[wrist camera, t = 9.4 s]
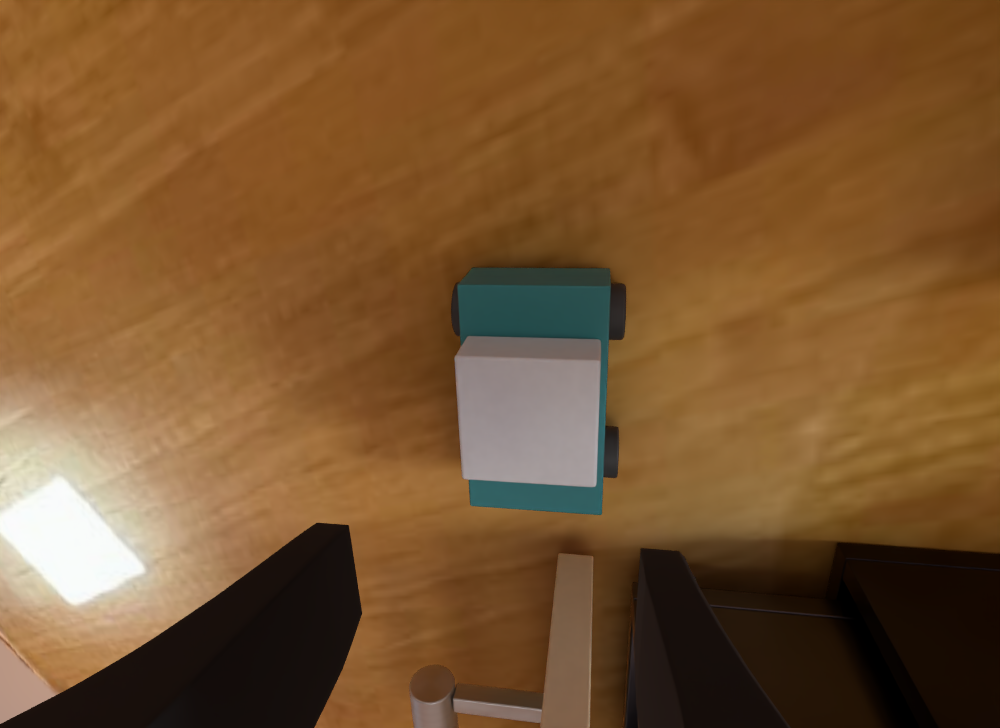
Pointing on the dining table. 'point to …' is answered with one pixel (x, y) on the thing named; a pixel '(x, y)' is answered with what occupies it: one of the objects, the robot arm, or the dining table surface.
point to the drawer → (751, 628)
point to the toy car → (536, 385)
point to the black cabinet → (930, 626)
